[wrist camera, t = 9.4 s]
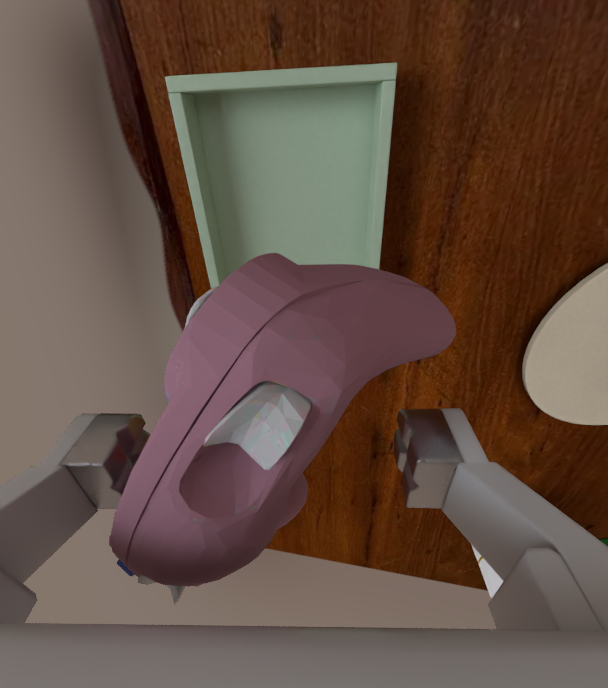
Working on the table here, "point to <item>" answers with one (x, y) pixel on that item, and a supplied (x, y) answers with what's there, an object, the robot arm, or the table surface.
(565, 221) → the table surface
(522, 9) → the table surface
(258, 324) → the video game controller
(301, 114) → the tray
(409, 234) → the table surface
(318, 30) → the table surface
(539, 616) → the robot arm
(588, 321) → the lid
